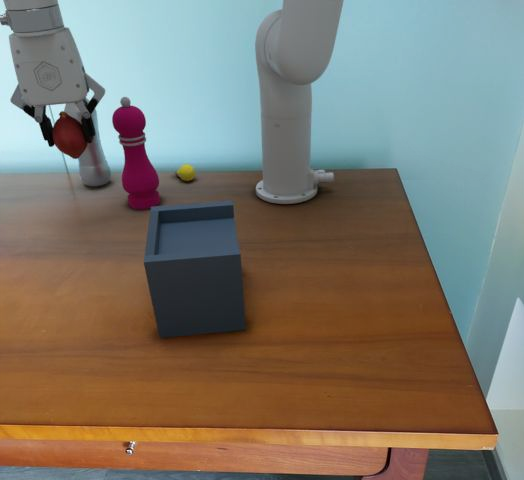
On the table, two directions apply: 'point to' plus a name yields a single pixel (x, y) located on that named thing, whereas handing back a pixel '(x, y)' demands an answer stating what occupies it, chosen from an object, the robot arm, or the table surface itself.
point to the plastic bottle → (91, 153)
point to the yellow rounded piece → (185, 172)
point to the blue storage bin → (194, 269)
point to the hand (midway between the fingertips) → (71, 141)
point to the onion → (69, 136)
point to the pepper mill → (135, 157)
